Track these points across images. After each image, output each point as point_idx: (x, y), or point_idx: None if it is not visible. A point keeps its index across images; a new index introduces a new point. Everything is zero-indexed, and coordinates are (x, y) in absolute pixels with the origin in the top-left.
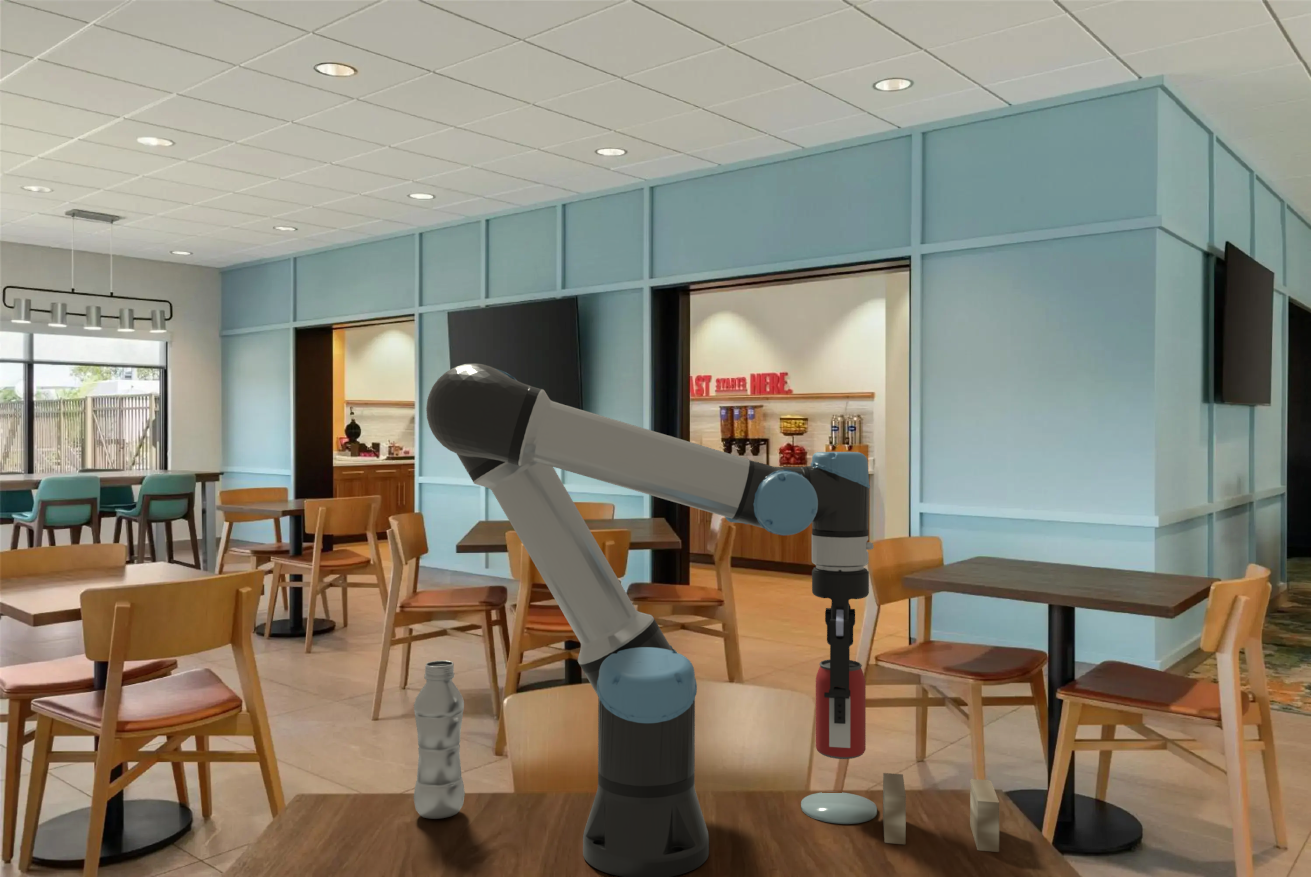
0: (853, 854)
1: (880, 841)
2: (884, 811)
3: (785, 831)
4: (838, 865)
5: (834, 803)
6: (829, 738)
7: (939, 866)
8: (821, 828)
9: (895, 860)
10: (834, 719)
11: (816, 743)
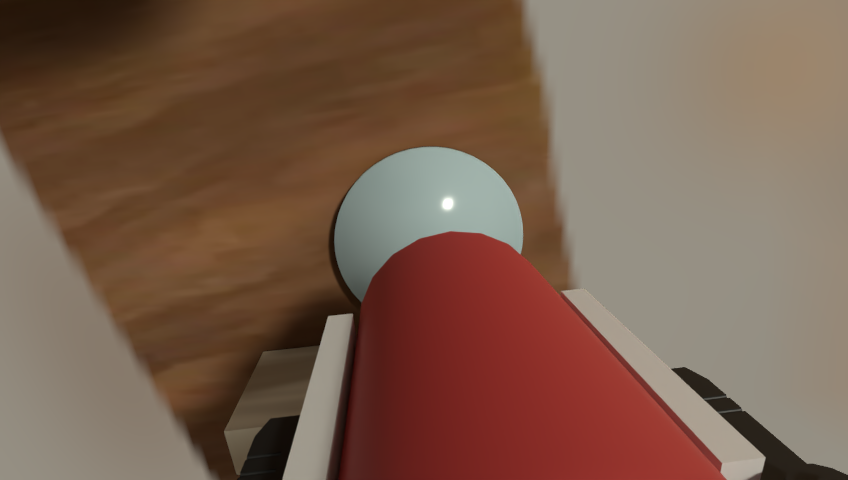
0: (169, 300)
1: (269, 343)
2: (275, 386)
3: (236, 129)
4: (90, 278)
5: (438, 232)
6: (324, 335)
7: (191, 446)
8: (293, 215)
9: (180, 377)
10: (254, 439)
11: (421, 245)
